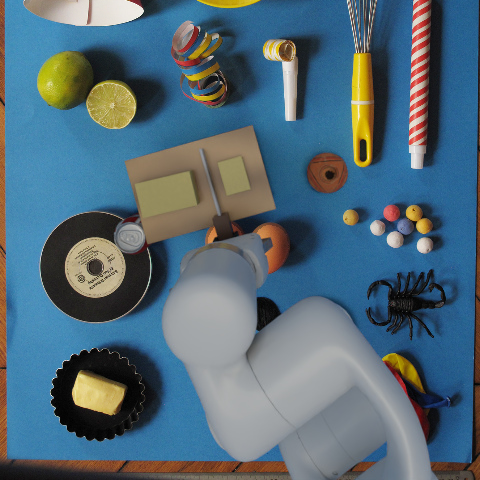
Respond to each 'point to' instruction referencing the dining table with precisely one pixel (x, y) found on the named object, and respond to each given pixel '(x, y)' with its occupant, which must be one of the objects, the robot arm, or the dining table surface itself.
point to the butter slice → (234, 175)
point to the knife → (218, 207)
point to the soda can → (131, 235)
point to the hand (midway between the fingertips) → (229, 244)
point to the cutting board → (204, 182)
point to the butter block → (167, 194)
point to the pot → (327, 172)
